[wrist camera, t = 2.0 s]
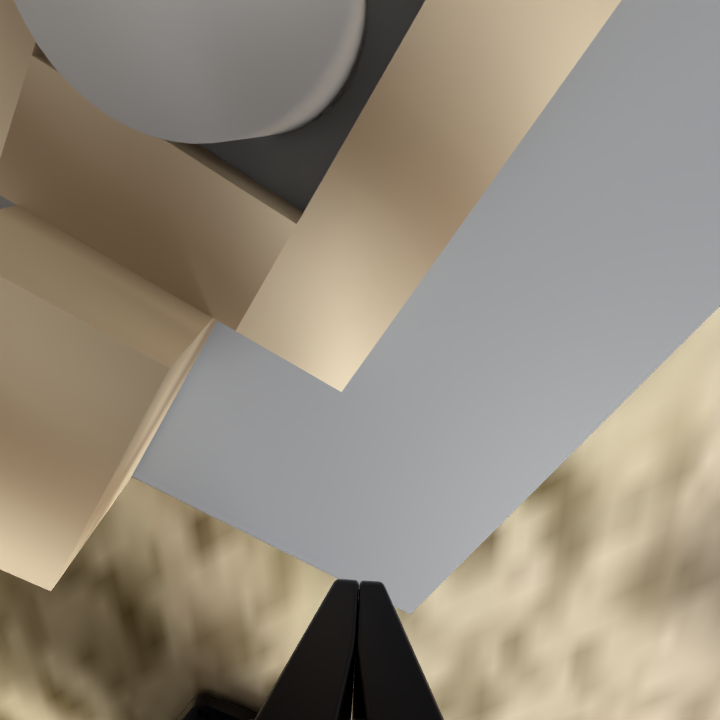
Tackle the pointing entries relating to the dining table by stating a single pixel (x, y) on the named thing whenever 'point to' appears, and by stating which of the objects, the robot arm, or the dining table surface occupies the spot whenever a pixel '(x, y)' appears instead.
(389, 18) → the board
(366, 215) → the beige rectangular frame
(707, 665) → the dining table surface
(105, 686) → the dining table surface
